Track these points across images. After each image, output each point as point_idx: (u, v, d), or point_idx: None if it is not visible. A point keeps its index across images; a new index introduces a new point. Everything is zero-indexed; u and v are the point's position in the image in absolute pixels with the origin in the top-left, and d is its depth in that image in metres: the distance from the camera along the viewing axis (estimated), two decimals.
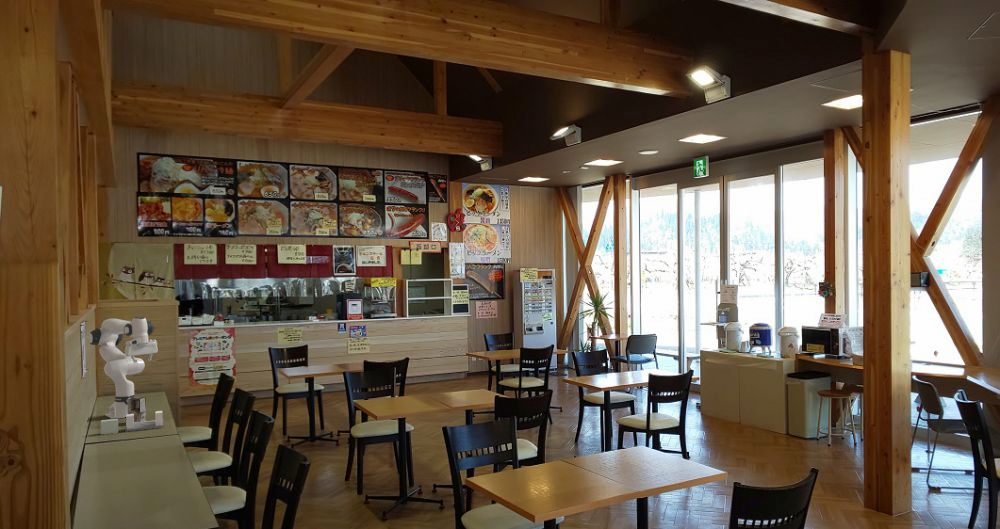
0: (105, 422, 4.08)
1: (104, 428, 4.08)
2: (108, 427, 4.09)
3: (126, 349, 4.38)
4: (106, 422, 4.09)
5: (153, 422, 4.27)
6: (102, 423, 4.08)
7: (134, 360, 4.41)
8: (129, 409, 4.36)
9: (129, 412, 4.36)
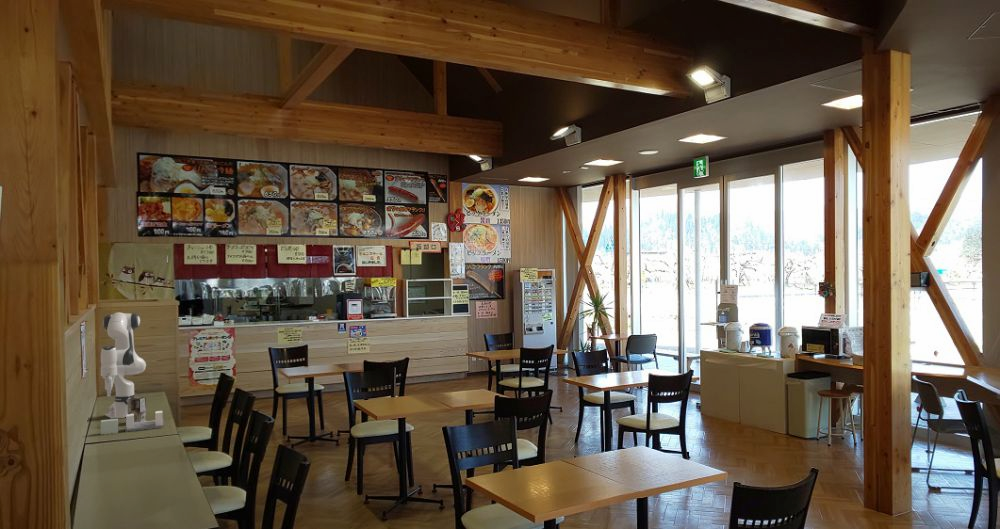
0: (105, 422, 4.08)
1: (104, 428, 4.08)
2: (108, 427, 4.09)
3: None
4: (106, 422, 4.09)
5: (153, 422, 4.27)
6: (102, 423, 4.08)
7: None
8: (129, 409, 4.36)
9: (129, 412, 4.36)
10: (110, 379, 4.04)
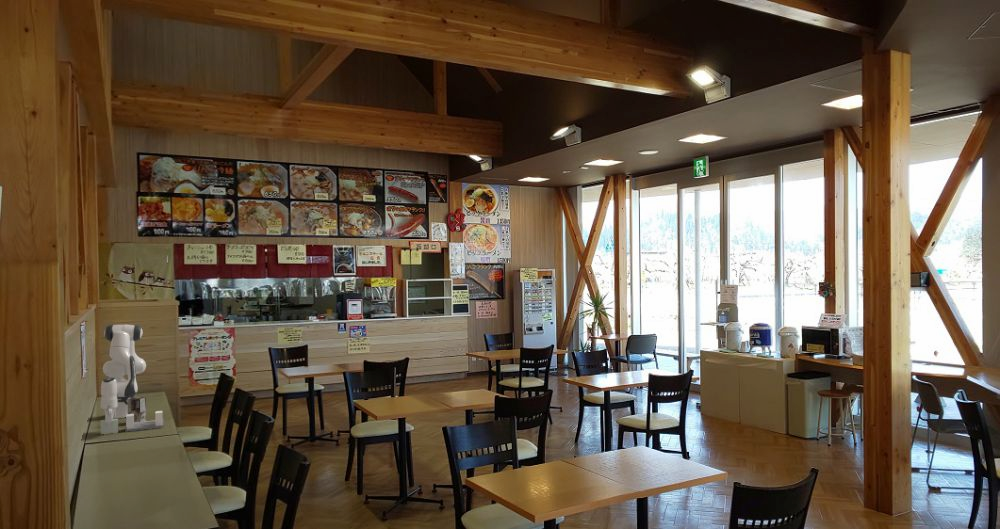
0: (105, 422, 4.08)
1: (104, 428, 4.08)
2: None
3: None
4: None
5: (153, 422, 4.27)
6: (102, 423, 4.08)
7: None
8: (129, 409, 4.36)
9: (129, 412, 4.36)
10: (110, 412, 4.04)
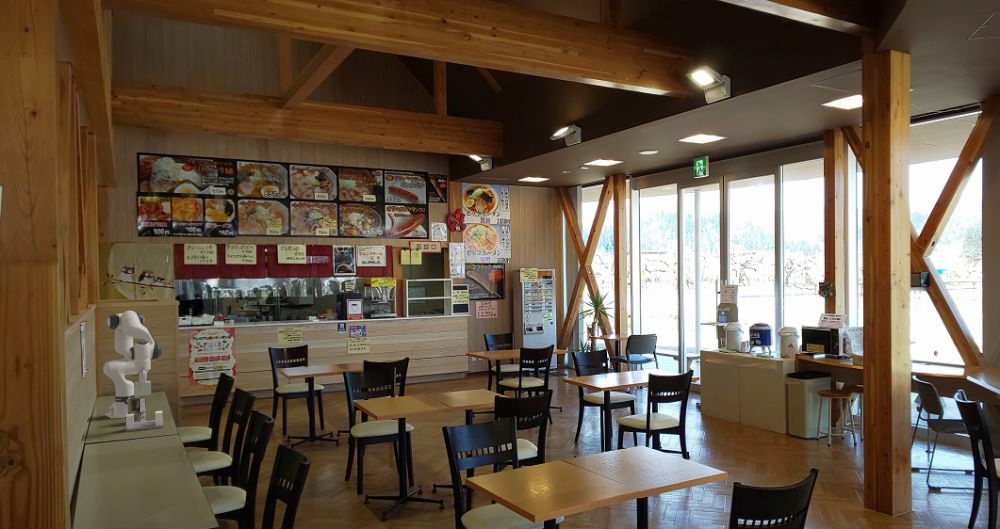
0: (139, 383, 4.18)
1: (138, 389, 4.18)
2: None
3: None
4: None
5: (153, 422, 4.27)
6: (136, 384, 4.18)
7: None
8: (129, 409, 4.36)
9: (129, 412, 4.36)
10: (144, 373, 4.14)
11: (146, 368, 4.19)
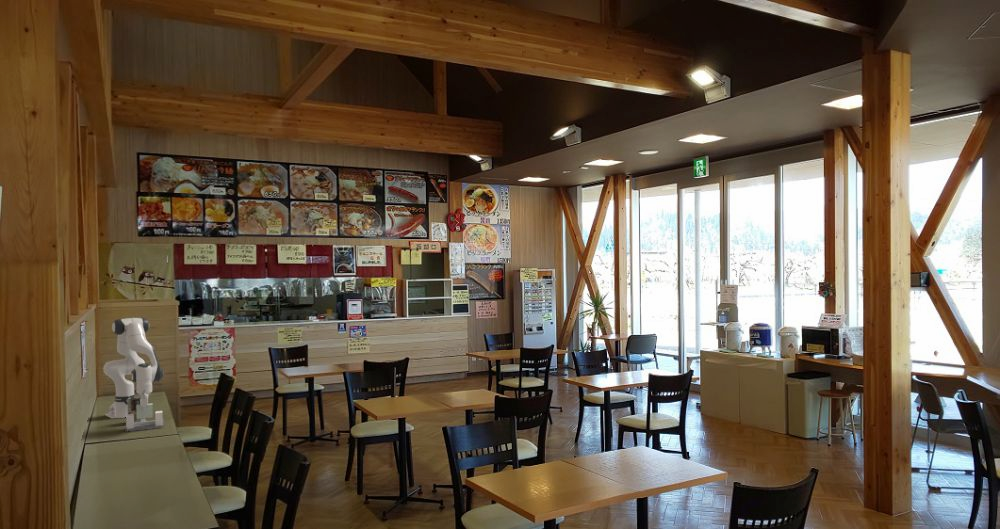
0: (140, 406, 4.19)
1: (140, 412, 4.19)
2: None
3: None
4: None
5: (153, 422, 4.27)
6: (138, 407, 4.18)
7: None
8: (129, 409, 4.36)
9: (129, 412, 4.36)
10: (146, 396, 4.14)
11: (148, 391, 4.19)
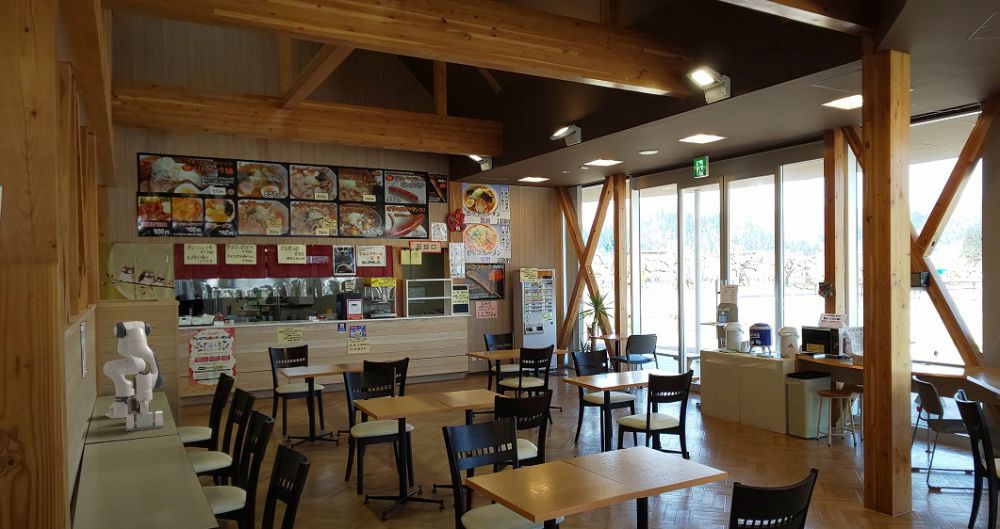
0: (140, 415, 4.19)
1: (140, 421, 4.19)
2: None
3: None
4: (141, 415, 4.19)
5: (153, 422, 4.27)
6: (138, 416, 4.18)
7: None
8: (129, 409, 4.36)
9: (129, 412, 4.36)
10: (146, 404, 4.14)
11: (148, 398, 4.19)
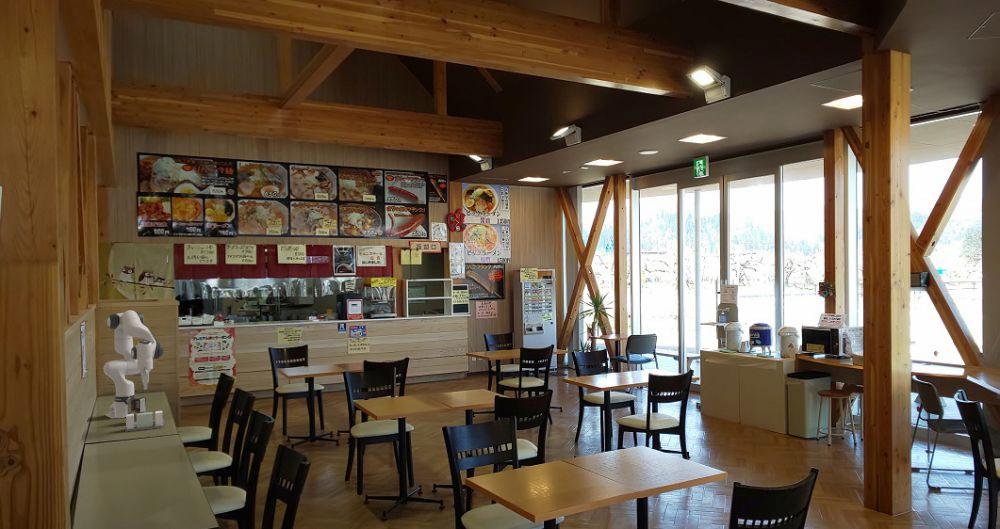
0: (140, 415, 4.19)
1: (140, 421, 4.19)
2: (144, 420, 4.20)
3: None
4: (141, 415, 4.19)
5: (153, 422, 4.27)
6: (138, 416, 4.18)
7: None
8: (129, 409, 4.36)
9: (129, 412, 4.36)
10: (147, 373, 4.15)
11: (149, 368, 4.21)
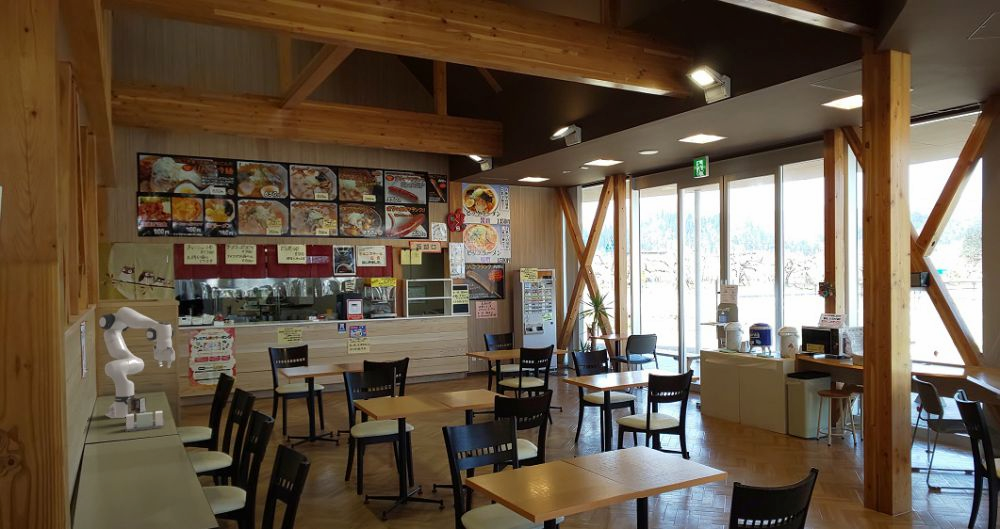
0: (140, 415, 4.19)
1: (140, 421, 4.19)
2: (144, 420, 4.20)
3: None
4: (141, 415, 4.19)
5: (153, 422, 4.27)
6: (138, 416, 4.18)
7: (159, 364, 4.48)
8: (129, 409, 4.36)
9: (129, 412, 4.36)
10: None
11: (170, 347, 4.45)
